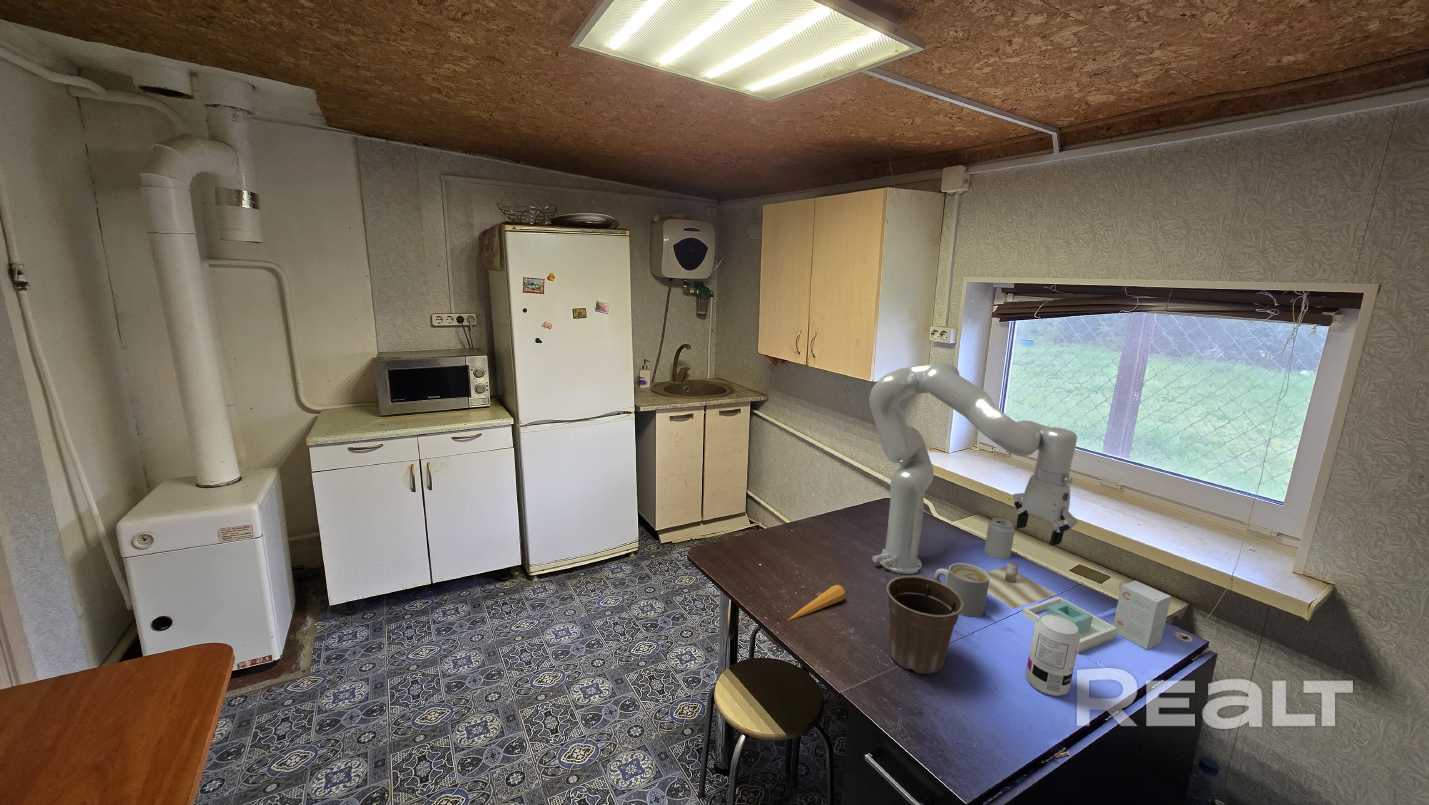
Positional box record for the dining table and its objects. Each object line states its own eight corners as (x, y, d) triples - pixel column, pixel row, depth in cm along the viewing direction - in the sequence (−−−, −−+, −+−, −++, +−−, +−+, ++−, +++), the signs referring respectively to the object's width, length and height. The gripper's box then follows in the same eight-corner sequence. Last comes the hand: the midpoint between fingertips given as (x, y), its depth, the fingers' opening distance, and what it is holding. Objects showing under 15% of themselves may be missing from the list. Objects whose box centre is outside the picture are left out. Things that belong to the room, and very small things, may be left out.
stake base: (1012, 612, 145) (1016, 591, 143) (963, 582, 159) (966, 562, 157) (1056, 598, 152) (1060, 578, 151) (1005, 570, 166) (1008, 551, 165)
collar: (1089, 630, 137) (1092, 616, 136) (1068, 638, 133) (1071, 624, 133) (1062, 614, 143) (1065, 601, 142) (1041, 622, 140) (1043, 608, 139)
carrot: (838, 597, 150) (833, 581, 151) (850, 599, 147) (845, 583, 147) (783, 628, 140) (778, 610, 140) (794, 631, 136) (789, 613, 136)
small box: (1161, 643, 134) (1172, 596, 131) (1146, 650, 131) (1158, 602, 128) (1125, 624, 141) (1135, 579, 138) (1110, 630, 138) (1120, 584, 135)
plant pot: (914, 627, 137) (922, 569, 134) (969, 668, 123) (979, 604, 120) (865, 645, 130) (871, 584, 126) (917, 690, 116) (926, 623, 112)
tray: (1077, 653, 129) (1079, 642, 129) (1021, 618, 142) (1023, 608, 141) (1114, 638, 135) (1117, 628, 135) (1057, 606, 148) (1059, 596, 148)
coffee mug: (991, 609, 146) (997, 575, 144) (971, 621, 140) (977, 586, 138) (945, 585, 157) (950, 554, 154) (925, 596, 151) (929, 563, 149)
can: (1004, 551, 178) (1009, 517, 175) (1014, 563, 170) (1020, 528, 168) (980, 549, 178) (985, 515, 176) (989, 561, 171) (994, 526, 168)
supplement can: (1017, 671, 123) (1027, 612, 119) (1051, 670, 123) (1063, 611, 120) (1041, 698, 115) (1053, 636, 111) (1077, 697, 115) (1091, 635, 112)
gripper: (1094, 486, 134) (1078, 549, 139) (1030, 462, 150) (1018, 519, 154) (1074, 490, 131) (1059, 554, 136) (1011, 465, 147) (999, 523, 151)
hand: (1037, 535), depth 145 cm, fingers open, 9 cm apart
